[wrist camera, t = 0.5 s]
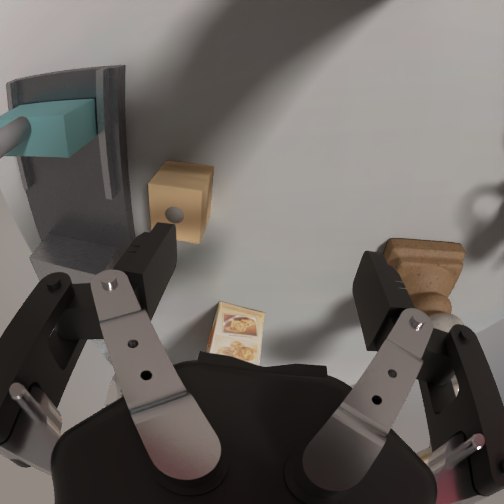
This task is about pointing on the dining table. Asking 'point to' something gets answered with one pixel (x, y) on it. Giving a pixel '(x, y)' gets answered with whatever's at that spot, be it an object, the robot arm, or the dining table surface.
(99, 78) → the frame
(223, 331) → the coffeecake box
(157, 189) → the block
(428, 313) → the candle holder
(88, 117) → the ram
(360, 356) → the dining table surface
